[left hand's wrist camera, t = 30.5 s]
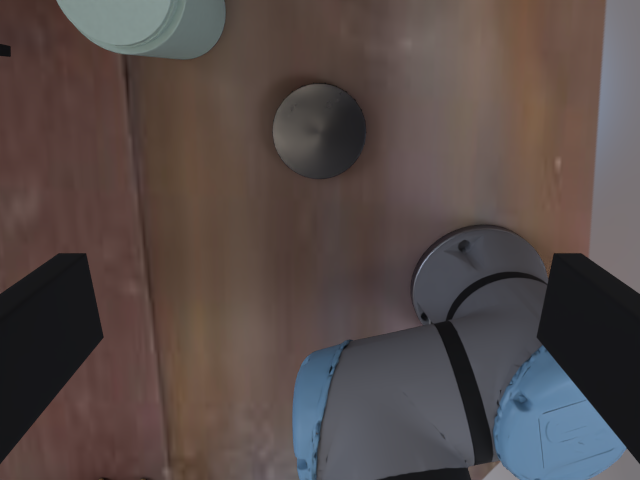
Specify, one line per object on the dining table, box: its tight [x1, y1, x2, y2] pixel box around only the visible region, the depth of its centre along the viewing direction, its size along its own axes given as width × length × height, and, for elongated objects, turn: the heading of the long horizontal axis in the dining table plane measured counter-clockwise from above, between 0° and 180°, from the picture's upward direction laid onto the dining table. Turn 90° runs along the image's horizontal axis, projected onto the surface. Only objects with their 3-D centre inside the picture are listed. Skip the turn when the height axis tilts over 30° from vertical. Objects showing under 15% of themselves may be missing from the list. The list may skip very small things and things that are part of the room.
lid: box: [272, 83, 366, 179], centre depth 45 cm, size 10×10×2 cm
